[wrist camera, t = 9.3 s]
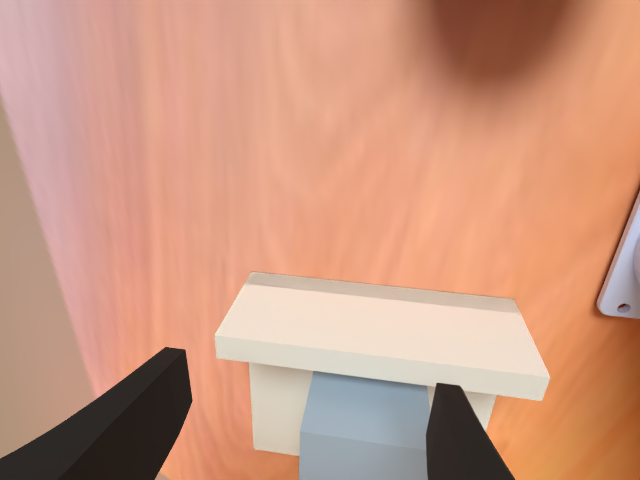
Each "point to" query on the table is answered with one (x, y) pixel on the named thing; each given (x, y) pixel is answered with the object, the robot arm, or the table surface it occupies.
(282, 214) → the table surface
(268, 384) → the board
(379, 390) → the block
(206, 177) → the table surface
